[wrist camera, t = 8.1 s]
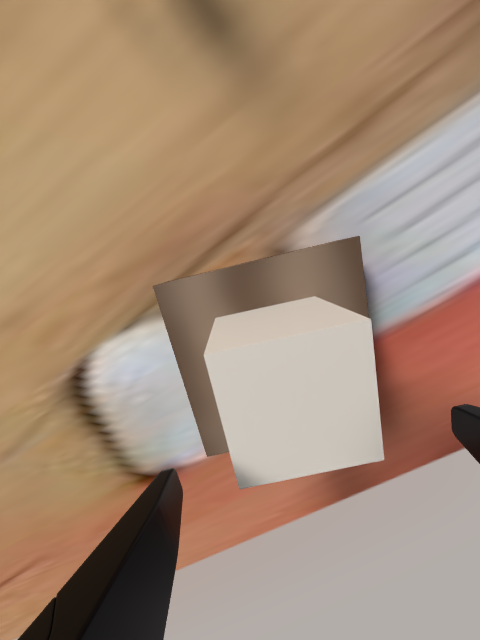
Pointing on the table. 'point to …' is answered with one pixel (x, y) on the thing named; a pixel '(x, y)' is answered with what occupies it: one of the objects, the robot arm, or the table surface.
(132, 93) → the table surface
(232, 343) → the off-white cube
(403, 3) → the table surface
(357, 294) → the walnut slab
